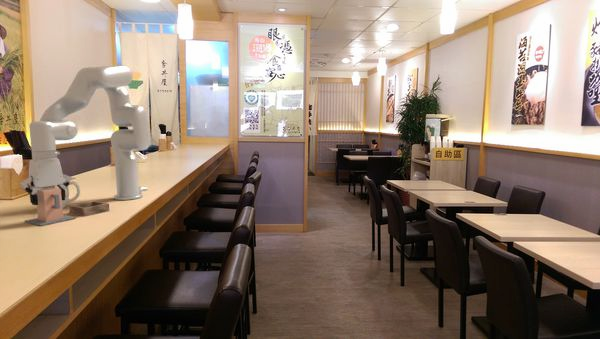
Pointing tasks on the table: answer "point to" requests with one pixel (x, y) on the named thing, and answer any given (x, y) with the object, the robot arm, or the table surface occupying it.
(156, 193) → the table surface
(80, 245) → the table surface
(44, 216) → the peach block with tab
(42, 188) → the pitcher
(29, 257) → the table surface
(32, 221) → the rubber mat
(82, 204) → the frame
